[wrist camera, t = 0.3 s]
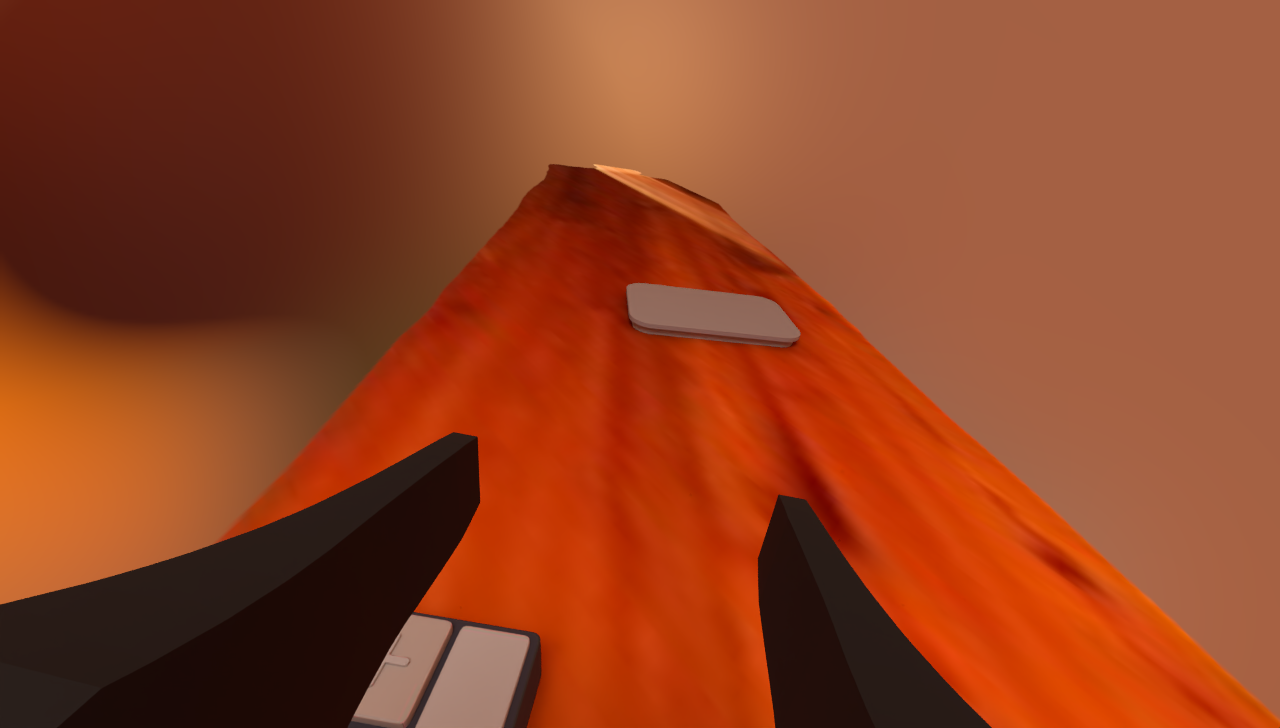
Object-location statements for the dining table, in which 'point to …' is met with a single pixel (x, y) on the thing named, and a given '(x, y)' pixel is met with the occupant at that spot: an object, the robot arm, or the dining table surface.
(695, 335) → the tablet
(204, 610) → the robot arm
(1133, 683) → the dining table surface
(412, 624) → the calculator
